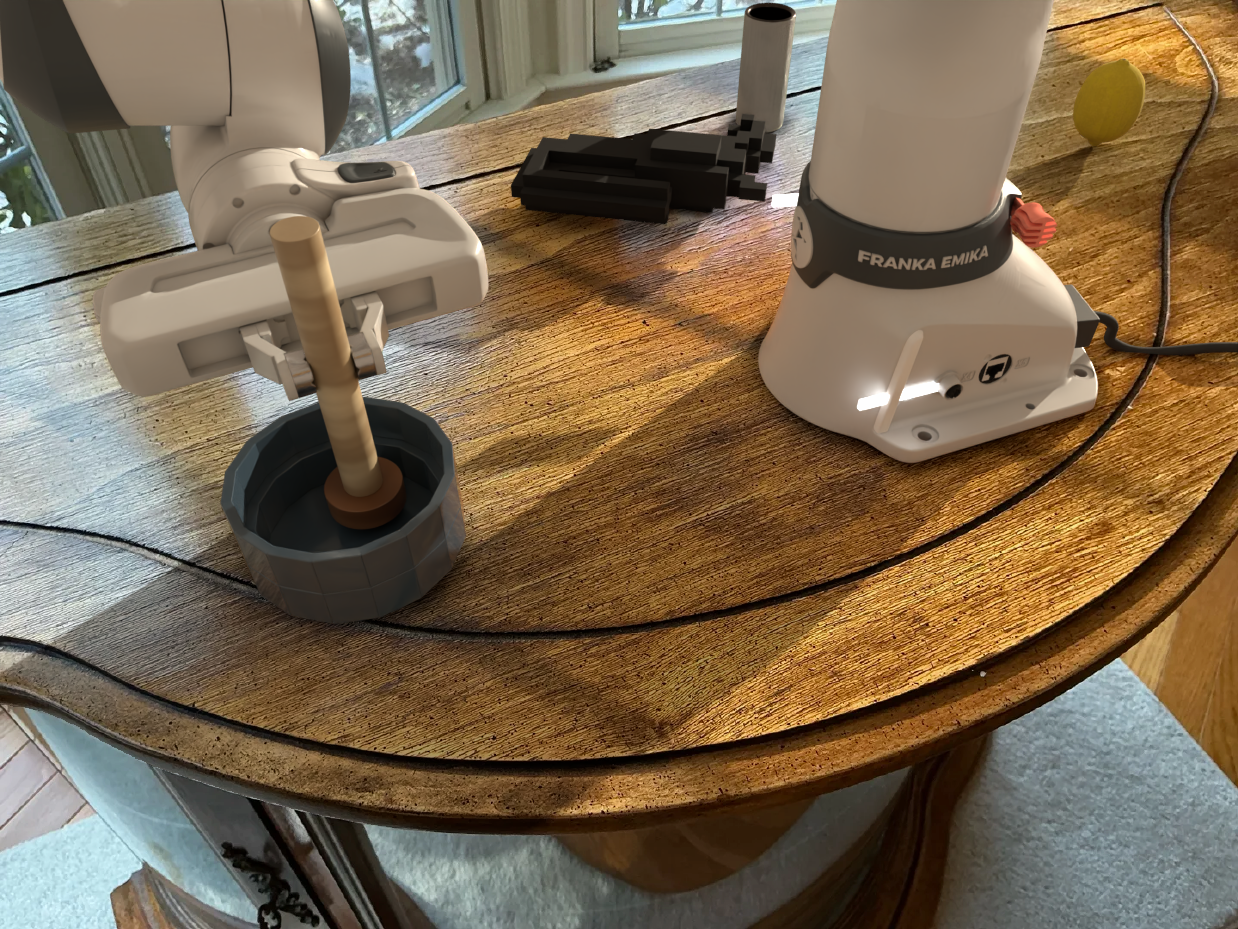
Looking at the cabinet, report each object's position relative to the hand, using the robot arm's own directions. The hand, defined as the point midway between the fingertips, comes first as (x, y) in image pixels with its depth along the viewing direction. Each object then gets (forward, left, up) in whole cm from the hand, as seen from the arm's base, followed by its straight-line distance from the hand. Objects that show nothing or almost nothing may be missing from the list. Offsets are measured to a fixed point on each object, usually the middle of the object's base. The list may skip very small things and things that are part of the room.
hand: (336, 376), depth 49 cm
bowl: (+1, +1, -12) cm, 12 cm away
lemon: (-65, -36, -12) cm, 75 cm away
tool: (-23, -35, -12) cm, 44 cm away
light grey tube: (-36, -46, -12) cm, 60 cm away
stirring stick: (0, -1, -10) cm, 10 cm away
